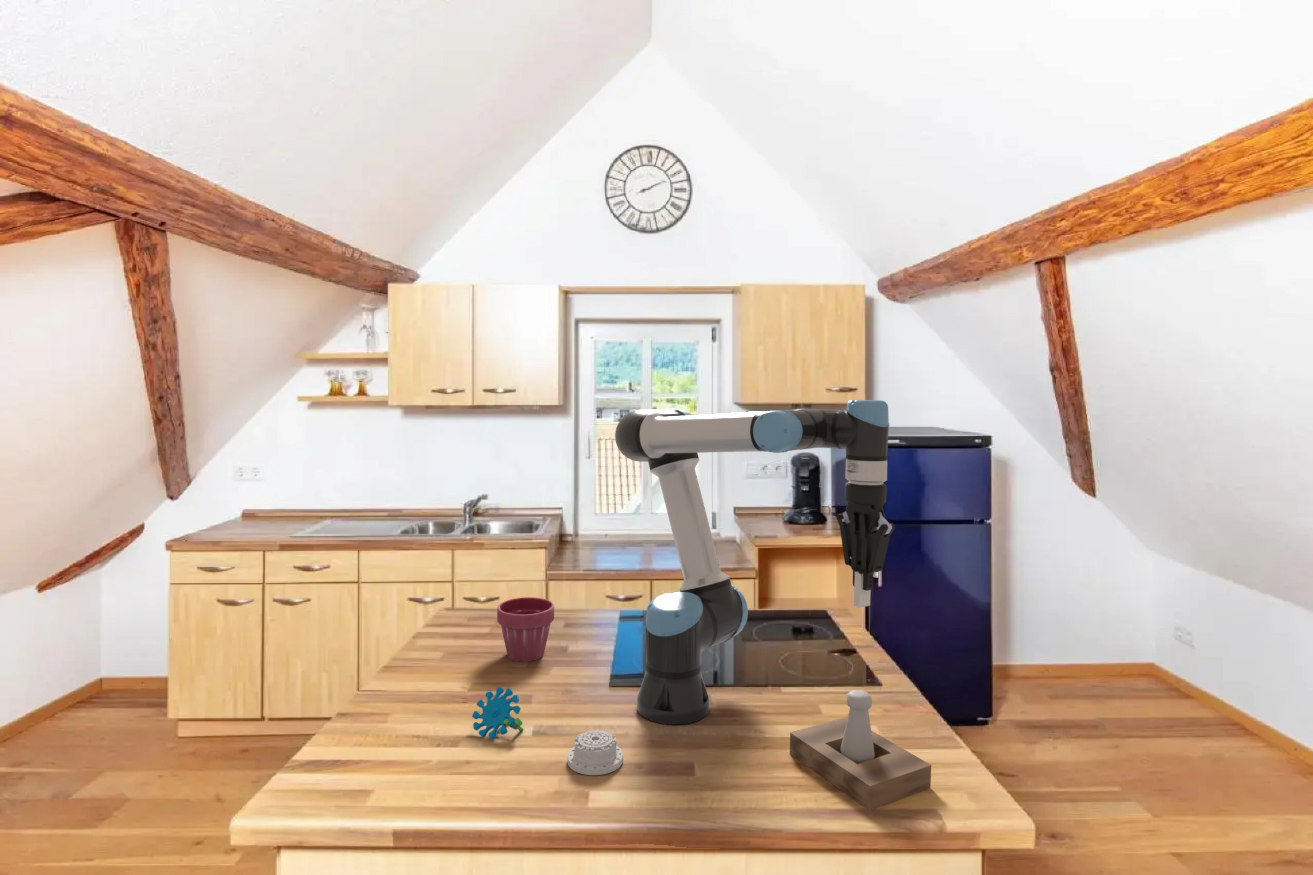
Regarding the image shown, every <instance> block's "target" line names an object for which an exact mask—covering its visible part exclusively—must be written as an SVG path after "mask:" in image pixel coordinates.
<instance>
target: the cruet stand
mask: <svg viewBox="0 0 1313 875" xmlns="http://www.w3.org/2000/svg"><path fill="white" fill-rule="evenodd" d="M847 719H848V716H845V717H841V718H838V719H835V720H831V721H827V722H826V721H825V722H822V723H821V724H816V725H812V726H809V727H806V728H805V727H804V728H802V729H798V730H796V731H795V730H794V731H791V732H789V755H790V756H791V755H792V757H793V758H795V759H796V760H798V761H800V762H801V763H802V764H804V765H805V766H806V767H808V768H810V769H811V770H812V771H813V772H815V773H816V774H817V775H819V776H821V777H822V778H823V779H825V780H826V781H828V783H831V784H832V785H833V786H835V787H836V788H838V789H839V790H840V791H842V792H843V793H844V794H846V795H848V796H849V797H850V798H852V799H853V800H854V801H856V802H857V803H859V804H860V805H862V806H863V807H864V808H865V809H867V810H868V811H872V810H874V809H877V808H880V807H882V806H885V805H888V804H890V803H893V802H896V801H899V800H901V799H904V798H906V797H910V796H912V795H915V794H917V793H920V792H923V791H926V790H928V789H930V788H931V787H932V786H931V783H932V782H931V781H932V780H931V778H932V764H930V763H928V762H927V761H925V760H924V759H922V758H920V757H918V756H916V755H915V754H913V753H911V752H909V751H908V750H906V749H904V748H902V747H901V746H899V745H897V744H896V743H894V742H892V741H891V740H889V739H887V738H885V737H884V736H881V735H880V734H878V733H876V732H875V731H873V730H871V733H872V739H873V746H874V753H875V756H874V759H872V760H868V761H865V762H862V763H859V764H856V763H855V762H853V761H852V760H850V759H848V758H847V757H845V756H844V755H842V754H841V744H842V740H843V736H844V732H845V727H846V723H847Z"/></svg>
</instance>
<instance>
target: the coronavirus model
mask: <svg viewBox="0 0 1313 875" xmlns="http://www.w3.org/2000/svg"><path fill="white" fill-rule="evenodd" d="M513 694H514V691H513V690H512V689H511V688H510V687H508V688H506V690H505V689H504V688H503V687H501V686H498V687H497V688H496V689H495V695H494V693H493V691H492V690H489V691H487V692H485V697H486V701H487V702H486V704H485V701H484V700H483V699H480V700H478V701H477V702H476V706H477V707H478V708H480V709H481V710H482V713H481V714H480V712H479V711H477V710H474V712H472V715H471V718H473V719H475V720H478V719H482V721H481V722H478V721H474V722H473V725H472V727H473V730H475V731H478V730H479V731H478V734H479V736H480V737H482V738H483V739H484V738H486V737H487V736H488V737H489V738H490V739H491V740H495V739H496V738H497V733H498V732H499V734H500V735H502V736H503V735H506V734H508V729H507V727H508V728H511V729H513V730H518V731H519V732H521V733H522V732H524V731H525V730H524V728H523V727H522V725H523V720H521V719H520V718H519V717H515V718H514V717H513V716H512V715H511V712H512V711H513V712H514V714H516V715H519V713H520V712H521V709H522V708H521V707H520V706H519V705H514V706H512V705H511V703H515V704H517V703H519V702H520V697H519V696H518V694H514V695H513ZM512 695H513V696H512ZM511 696H512V697H511ZM507 697H510V698H507ZM483 727H485V728H483ZM481 728H483V729H481ZM499 728H500V729H499ZM498 730H499V731H498ZM489 731H490V732H489ZM488 732H489V733H488ZM487 734H488V735H487Z"/></svg>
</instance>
